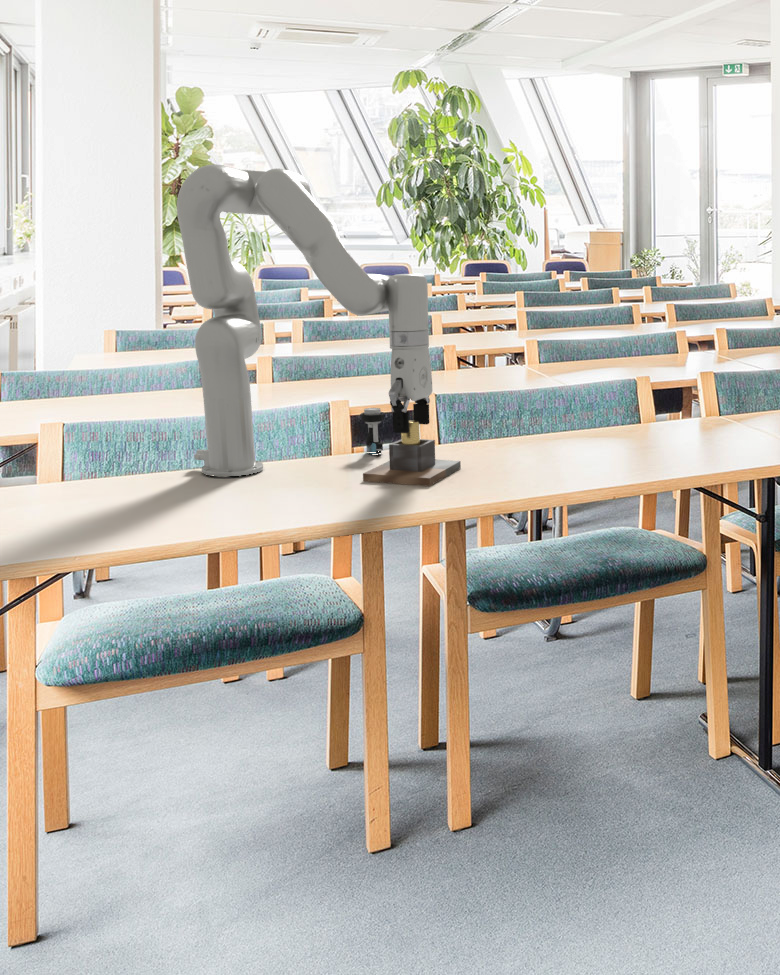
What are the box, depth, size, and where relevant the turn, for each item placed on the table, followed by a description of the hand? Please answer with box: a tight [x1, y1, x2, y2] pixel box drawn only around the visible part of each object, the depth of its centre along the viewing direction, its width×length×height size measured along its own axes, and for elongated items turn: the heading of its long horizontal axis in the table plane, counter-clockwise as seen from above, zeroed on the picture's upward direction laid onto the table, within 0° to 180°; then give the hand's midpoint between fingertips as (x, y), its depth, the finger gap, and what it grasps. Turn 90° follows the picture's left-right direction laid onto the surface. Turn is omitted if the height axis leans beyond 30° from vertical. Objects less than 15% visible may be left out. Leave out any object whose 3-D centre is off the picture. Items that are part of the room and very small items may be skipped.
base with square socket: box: [362, 438, 461, 487], centre depth 184 cm, size 14×16×6 cm
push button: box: [359, 407, 385, 456], centre depth 204 cm, size 7×5×10 cm
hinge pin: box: [400, 419, 421, 445], centre depth 183 cm, size 4×4×9 cm
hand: (411, 428), depth 183 cm, fingers open, 9 cm apart
